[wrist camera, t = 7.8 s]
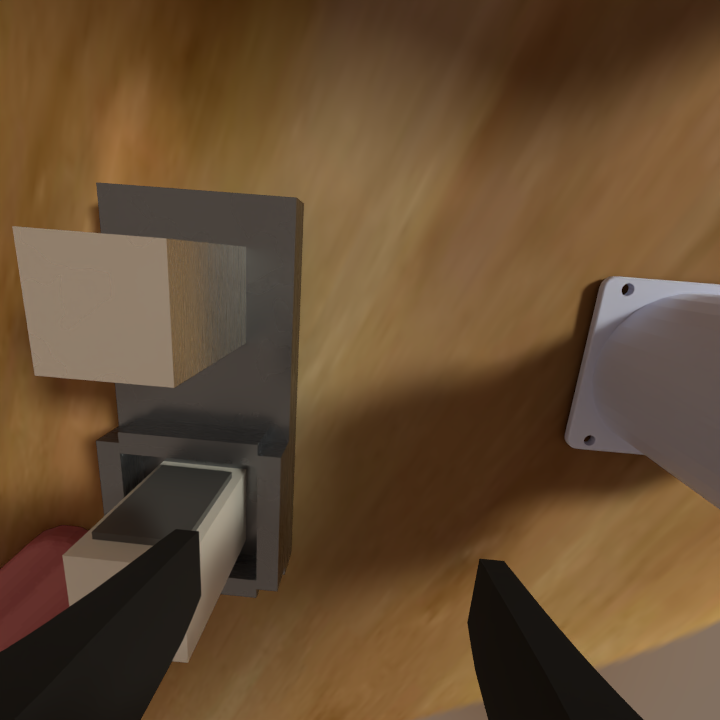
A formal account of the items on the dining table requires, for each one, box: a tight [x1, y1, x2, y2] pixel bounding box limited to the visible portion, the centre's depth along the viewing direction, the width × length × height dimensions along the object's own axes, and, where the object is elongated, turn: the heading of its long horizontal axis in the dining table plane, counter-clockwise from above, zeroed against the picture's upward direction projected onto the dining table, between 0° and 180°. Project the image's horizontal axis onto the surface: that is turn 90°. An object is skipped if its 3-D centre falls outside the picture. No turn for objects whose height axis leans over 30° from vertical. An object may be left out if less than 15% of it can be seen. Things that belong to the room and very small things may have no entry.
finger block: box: [62, 461, 246, 663], centre depth 16 cm, size 4×4×6 cm
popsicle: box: [0, 525, 89, 652], centre depth 22 cm, size 5×2×15 cm
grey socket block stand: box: [12, 183, 304, 598], centre depth 15 cm, size 8×18×8 cm, turn 176°
